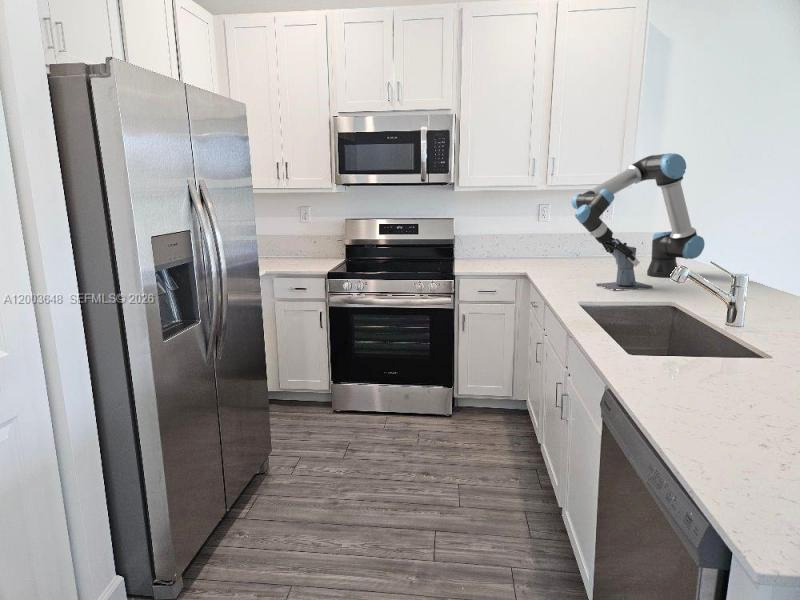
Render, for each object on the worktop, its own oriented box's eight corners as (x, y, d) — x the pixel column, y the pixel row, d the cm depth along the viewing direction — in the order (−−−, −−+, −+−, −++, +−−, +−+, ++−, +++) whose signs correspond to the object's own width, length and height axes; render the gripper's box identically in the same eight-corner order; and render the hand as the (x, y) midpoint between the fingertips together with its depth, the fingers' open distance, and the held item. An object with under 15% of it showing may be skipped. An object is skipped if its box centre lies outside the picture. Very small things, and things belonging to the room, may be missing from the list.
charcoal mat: (633, 282, 261) (633, 280, 260) (652, 288, 246) (652, 285, 246) (596, 285, 257) (596, 283, 257) (613, 290, 243) (613, 288, 243)
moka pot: (614, 286, 244) (614, 243, 242) (614, 283, 258) (613, 242, 256) (637, 285, 240) (637, 242, 238) (635, 283, 255) (635, 241, 252)
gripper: (582, 236, 257) (610, 265, 262) (609, 240, 233) (639, 272, 238) (593, 224, 256) (620, 254, 261) (621, 228, 232) (650, 260, 238)
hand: (629, 262), depth 250 cm, fingers open, 12 cm apart
